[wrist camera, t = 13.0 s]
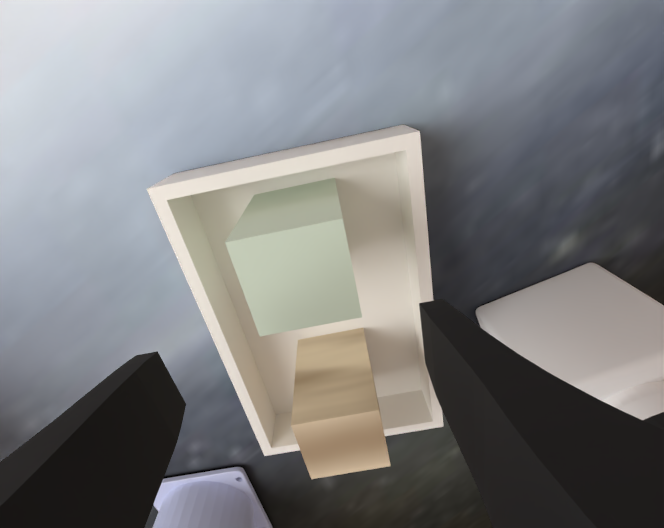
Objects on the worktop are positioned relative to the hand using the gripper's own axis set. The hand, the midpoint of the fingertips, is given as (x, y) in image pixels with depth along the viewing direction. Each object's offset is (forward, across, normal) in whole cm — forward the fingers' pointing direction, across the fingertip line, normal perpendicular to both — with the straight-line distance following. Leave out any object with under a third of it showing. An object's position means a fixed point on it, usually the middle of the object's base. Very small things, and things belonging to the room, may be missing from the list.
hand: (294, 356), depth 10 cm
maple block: (+9, 0, +9) cm, 13 cm away
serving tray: (+10, 0, +4) cm, 11 cm away
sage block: (+9, 0, 0) cm, 9 cm away
